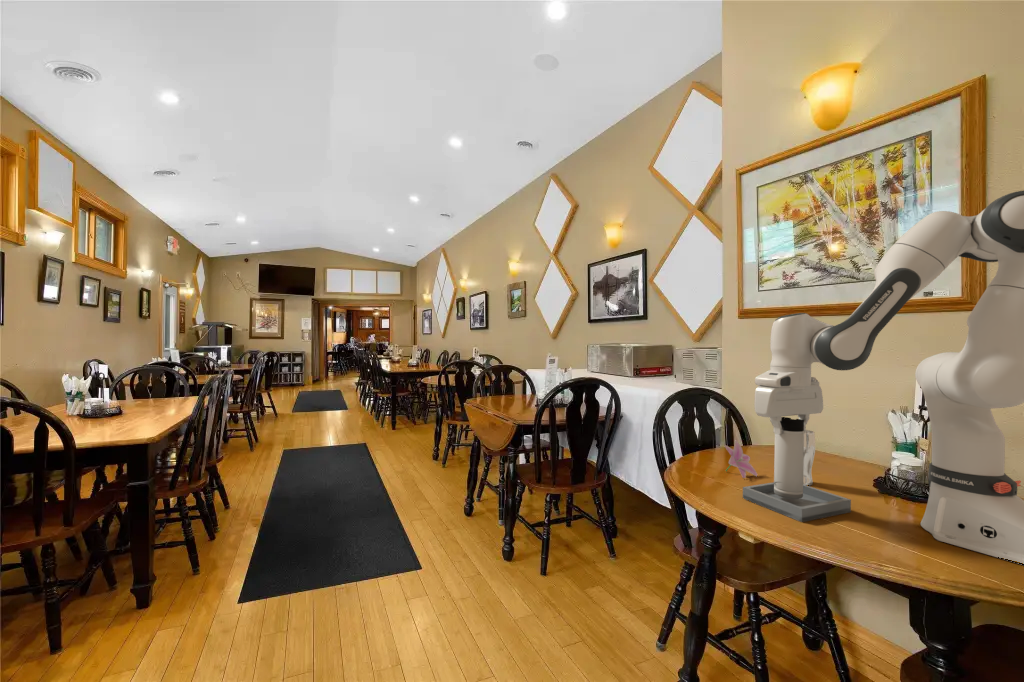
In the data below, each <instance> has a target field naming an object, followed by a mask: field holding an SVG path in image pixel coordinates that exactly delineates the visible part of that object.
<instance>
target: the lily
mask: <svg viewBox="0 0 1024 682" xmlns="http://www.w3.org/2000/svg"><path fill="white" fill-rule="evenodd" d="M723 446H724V448H725V449H726V451H727V452H728V453H729V455H730V458H729V460H728V464H729V466H728V467H727V468H726V469H725V471H726V472H727V471H728V470H729V468H730V467H731V466H733V467H736V468H737V469H738V471H739V473H740V475H741V477H742V479H743V478H745V479H746V476H747V473H750V474H752V475H753V476H755V477H757V475H758V473H757V471H756V469H755V468H754V467H753V466H752V463H750V460H751V457H750V455H748V454H745V453H744V451H743V447H742V446H741V444H740V442H739V441H738V440H737V439H735V440H734V447H733V448H732V447H729V446H728V445H726V444H724V445H723Z"/></svg>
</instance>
